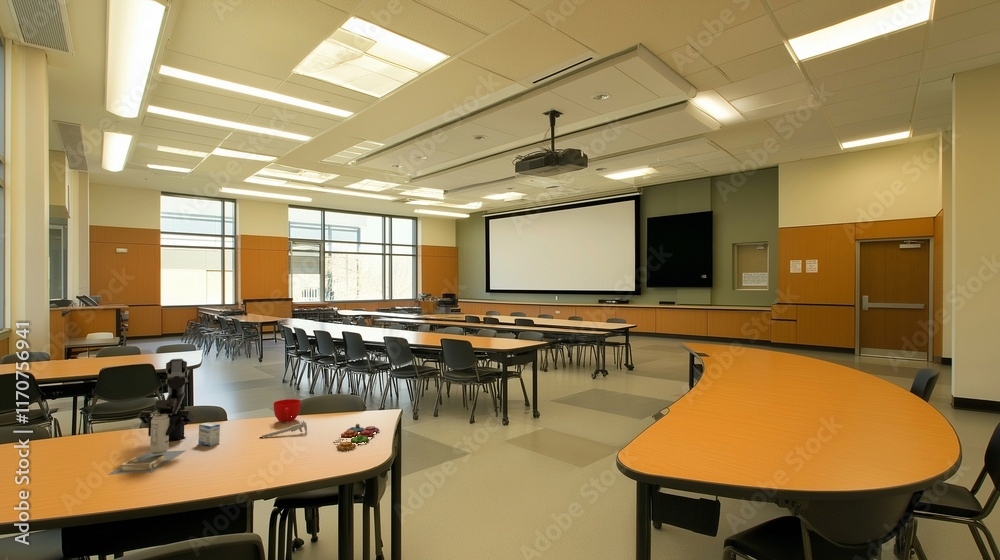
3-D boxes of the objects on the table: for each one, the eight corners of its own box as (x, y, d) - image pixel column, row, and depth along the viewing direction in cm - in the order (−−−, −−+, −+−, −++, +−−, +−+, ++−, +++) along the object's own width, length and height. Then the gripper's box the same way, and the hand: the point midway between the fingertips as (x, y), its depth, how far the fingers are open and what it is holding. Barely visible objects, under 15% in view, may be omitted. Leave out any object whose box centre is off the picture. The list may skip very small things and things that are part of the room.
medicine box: (198, 444, 203) (198, 424, 204) (207, 441, 208) (208, 422, 208) (210, 446, 201) (210, 426, 201) (219, 443, 205) (220, 423, 205)
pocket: (134, 461, 181) (135, 456, 181) (165, 460, 183) (165, 455, 183) (119, 470, 172) (119, 465, 172) (152, 469, 174) (152, 463, 174)
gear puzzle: (358, 453, 194) (359, 443, 194) (321, 452, 195) (321, 442, 195) (381, 431, 225) (381, 422, 226) (348, 430, 226) (348, 422, 226)
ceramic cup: (272, 427, 228) (272, 407, 229) (273, 419, 244) (274, 400, 244) (300, 425, 234) (300, 405, 234) (300, 416, 249) (300, 398, 249)
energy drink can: (169, 452, 188) (171, 415, 189) (151, 456, 184) (153, 418, 184) (166, 448, 192) (167, 412, 193) (148, 452, 188) (149, 415, 188)
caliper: (306, 432, 221) (306, 419, 221) (306, 433, 220) (307, 420, 220) (258, 438, 213) (259, 424, 213) (258, 439, 212) (259, 425, 212)
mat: (147, 452, 192) (147, 452, 192) (186, 451, 195) (186, 450, 195) (107, 475, 169) (107, 474, 169) (152, 473, 171) (152, 472, 171)
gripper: (141, 392, 191) (123, 426, 180) (190, 390, 194) (175, 424, 183) (152, 406, 199) (135, 440, 188) (199, 404, 202) (185, 438, 191)
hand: (157, 435), depth 187 cm, fingers closed on energy drink can, 6 cm apart
